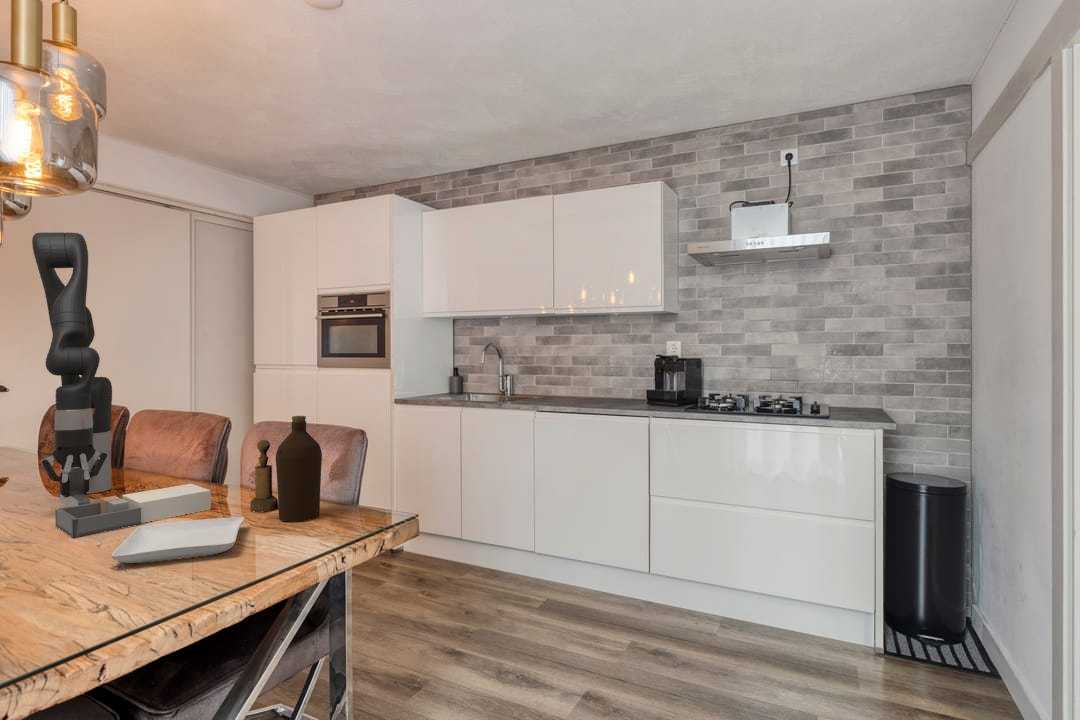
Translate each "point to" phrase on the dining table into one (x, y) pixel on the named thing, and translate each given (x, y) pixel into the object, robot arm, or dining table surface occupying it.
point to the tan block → (104, 503)
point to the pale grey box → (117, 505)
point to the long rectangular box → (169, 502)
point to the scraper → (75, 489)
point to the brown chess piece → (263, 482)
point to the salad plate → (179, 540)
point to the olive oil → (298, 474)
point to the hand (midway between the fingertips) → (74, 495)
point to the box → (94, 519)
